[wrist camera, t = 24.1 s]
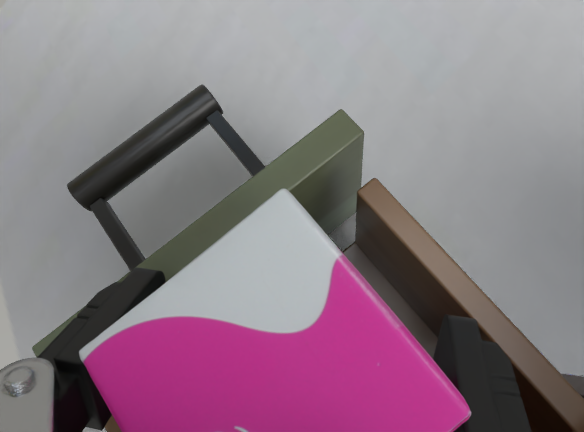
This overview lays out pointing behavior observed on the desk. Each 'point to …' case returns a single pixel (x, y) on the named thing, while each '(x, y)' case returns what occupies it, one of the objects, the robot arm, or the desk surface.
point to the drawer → (328, 215)
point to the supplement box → (270, 343)
